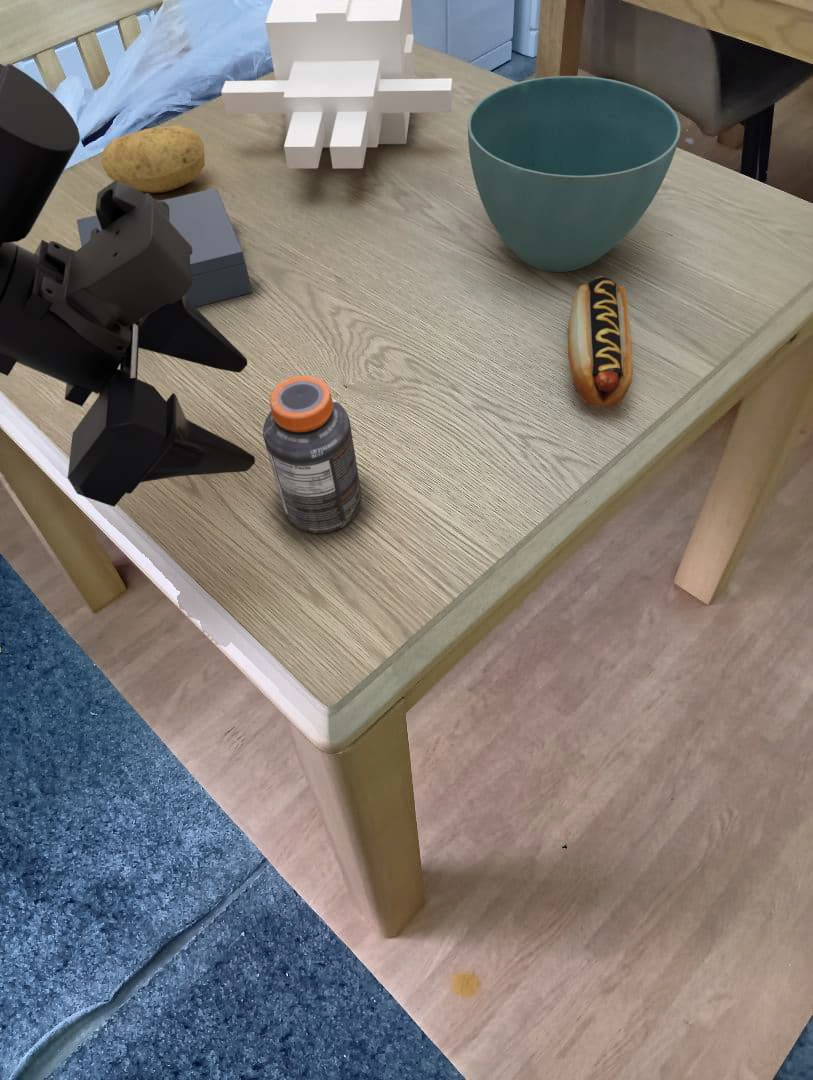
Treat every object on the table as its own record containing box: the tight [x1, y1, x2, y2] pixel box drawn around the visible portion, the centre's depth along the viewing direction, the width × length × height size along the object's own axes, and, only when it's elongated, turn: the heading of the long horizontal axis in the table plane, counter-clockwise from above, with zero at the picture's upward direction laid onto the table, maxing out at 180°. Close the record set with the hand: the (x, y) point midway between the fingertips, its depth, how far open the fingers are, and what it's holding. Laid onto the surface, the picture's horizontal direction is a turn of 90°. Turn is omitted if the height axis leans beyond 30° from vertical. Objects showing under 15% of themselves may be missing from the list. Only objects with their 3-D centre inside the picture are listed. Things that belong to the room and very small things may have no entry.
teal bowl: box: [467, 75, 682, 273], centre depth 73 cm, size 18×18×12 cm
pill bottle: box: [262, 374, 363, 534], centre depth 55 cm, size 6×6×11 cm
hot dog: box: [567, 275, 633, 408], centre depth 66 cm, size 5×13×5 cm, turn 174°
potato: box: [101, 125, 206, 194], centre depth 86 cm, size 7×11×6 cm, turn 94°
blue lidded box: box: [76, 187, 253, 308], centre depth 76 cm, size 14×12×4 cm
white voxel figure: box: [220, 0, 453, 169], centre depth 87 cm, size 15×25×28 cm
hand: (247, 412), depth 51 cm, fingers open, 9 cm apart
